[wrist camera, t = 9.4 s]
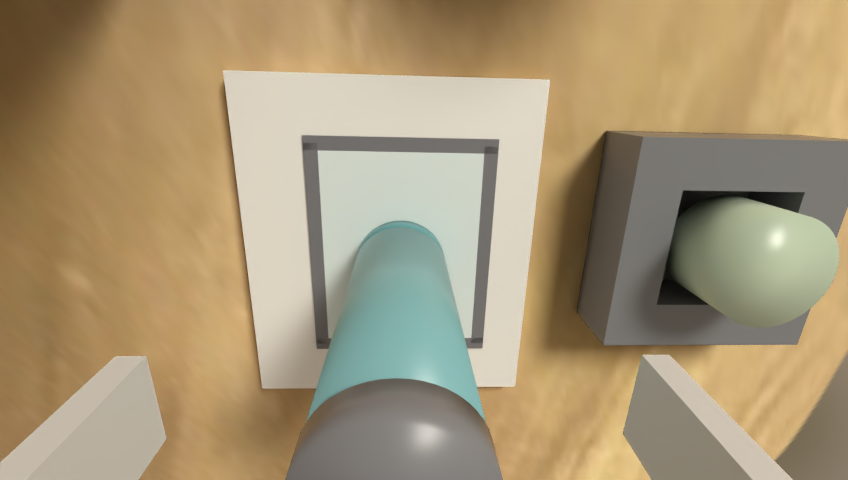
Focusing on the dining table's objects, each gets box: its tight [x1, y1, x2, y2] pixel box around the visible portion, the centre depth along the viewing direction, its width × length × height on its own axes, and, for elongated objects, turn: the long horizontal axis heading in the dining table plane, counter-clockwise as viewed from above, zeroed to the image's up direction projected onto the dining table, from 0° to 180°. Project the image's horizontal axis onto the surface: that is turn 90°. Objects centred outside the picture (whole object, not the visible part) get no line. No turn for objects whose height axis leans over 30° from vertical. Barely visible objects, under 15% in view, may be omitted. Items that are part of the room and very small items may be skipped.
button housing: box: [577, 131, 848, 345], centre depth 18 cm, size 9×9×3 cm
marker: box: [285, 220, 503, 480], centre depth 13 cm, size 4×4×12 cm
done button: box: [665, 194, 839, 328], centre depth 16 cm, size 4×4×3 cm
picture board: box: [223, 70, 550, 389], centre depth 19 cm, size 15×13×1 cm
